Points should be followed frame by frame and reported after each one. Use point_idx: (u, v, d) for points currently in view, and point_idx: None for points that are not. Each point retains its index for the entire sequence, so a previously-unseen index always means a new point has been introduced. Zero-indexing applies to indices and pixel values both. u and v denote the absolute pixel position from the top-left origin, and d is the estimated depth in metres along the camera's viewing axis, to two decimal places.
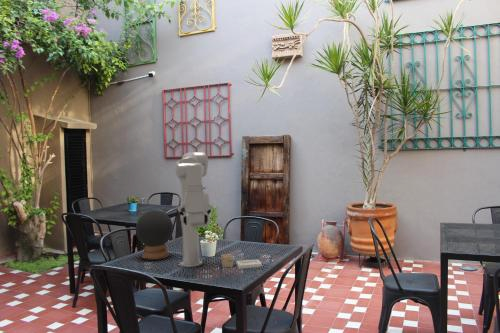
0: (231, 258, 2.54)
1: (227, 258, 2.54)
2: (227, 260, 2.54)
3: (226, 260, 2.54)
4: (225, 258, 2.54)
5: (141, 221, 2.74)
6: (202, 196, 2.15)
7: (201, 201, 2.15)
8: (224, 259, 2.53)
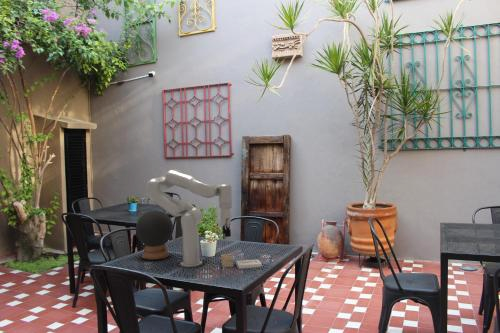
0: (231, 258, 2.54)
1: (227, 258, 2.54)
2: (227, 260, 2.54)
3: (226, 260, 2.54)
4: (225, 258, 2.54)
5: (141, 221, 2.74)
6: None
7: None
8: (224, 259, 2.53)
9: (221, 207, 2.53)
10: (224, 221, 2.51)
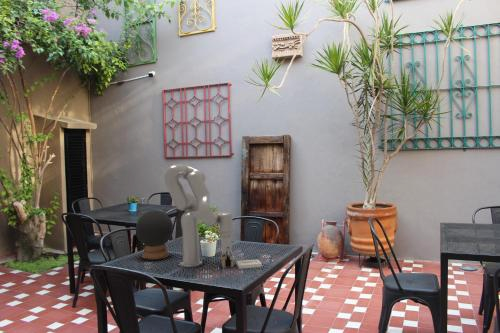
0: (232, 258, 2.54)
1: None
2: None
3: None
4: (225, 258, 2.54)
5: (141, 221, 2.74)
6: None
7: None
8: (224, 259, 2.54)
9: (222, 236, 2.53)
10: (225, 250, 2.51)
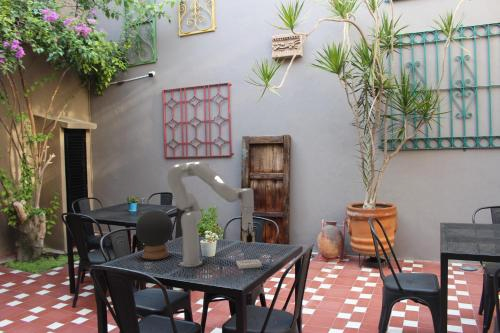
0: (253, 234, 2.52)
1: None
2: None
3: None
4: (246, 234, 2.51)
5: (141, 221, 2.74)
6: None
7: None
8: (245, 235, 2.51)
9: (243, 211, 2.51)
10: (246, 226, 2.49)
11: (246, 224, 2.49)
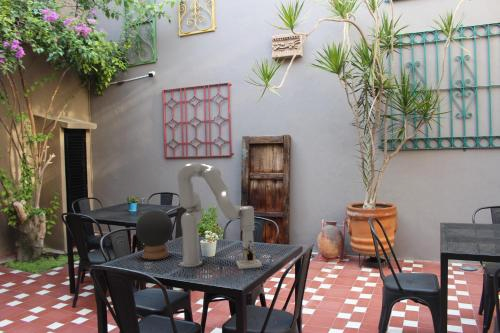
0: (254, 251, 2.53)
1: None
2: None
3: None
4: (247, 252, 2.52)
5: (141, 221, 2.74)
6: None
7: None
8: (246, 253, 2.52)
9: (244, 229, 2.52)
10: (247, 244, 2.50)
11: (247, 242, 2.50)
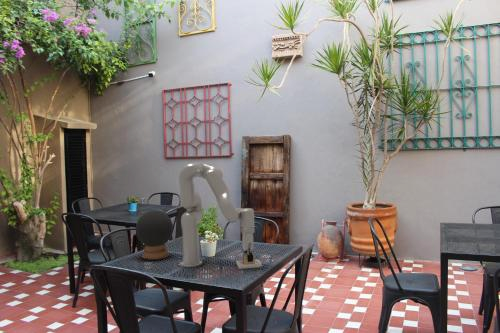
0: (253, 256, 2.53)
1: None
2: None
3: None
4: None
5: (141, 221, 2.74)
6: None
7: None
8: (246, 257, 2.52)
9: (244, 232, 2.52)
10: (247, 246, 2.50)
11: (246, 244, 2.50)
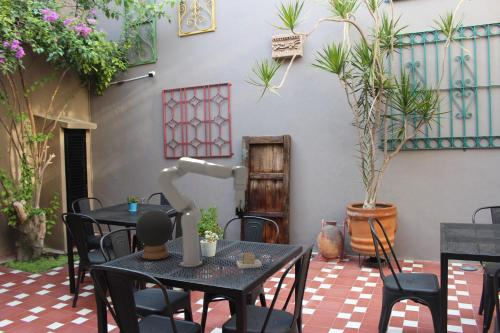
0: (253, 256, 2.53)
1: (249, 256, 2.52)
2: (249, 258, 2.52)
3: (248, 258, 2.52)
4: (247, 256, 2.52)
5: (141, 221, 2.74)
6: None
7: None
8: (246, 257, 2.52)
9: (235, 188, 2.53)
10: (238, 202, 2.51)
11: (238, 201, 2.51)
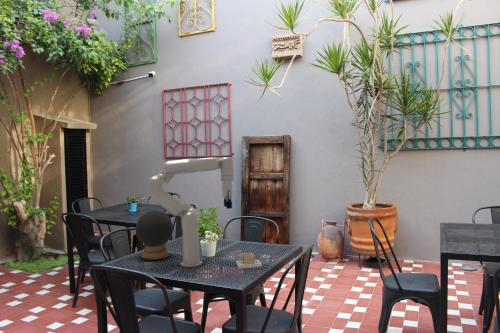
0: (253, 256, 2.53)
1: (249, 256, 2.52)
2: (249, 258, 2.52)
3: (248, 258, 2.52)
4: (247, 256, 2.52)
5: (141, 221, 2.74)
6: None
7: None
8: (246, 257, 2.52)
9: (223, 179, 2.56)
10: (226, 193, 2.54)
11: (225, 191, 2.54)
